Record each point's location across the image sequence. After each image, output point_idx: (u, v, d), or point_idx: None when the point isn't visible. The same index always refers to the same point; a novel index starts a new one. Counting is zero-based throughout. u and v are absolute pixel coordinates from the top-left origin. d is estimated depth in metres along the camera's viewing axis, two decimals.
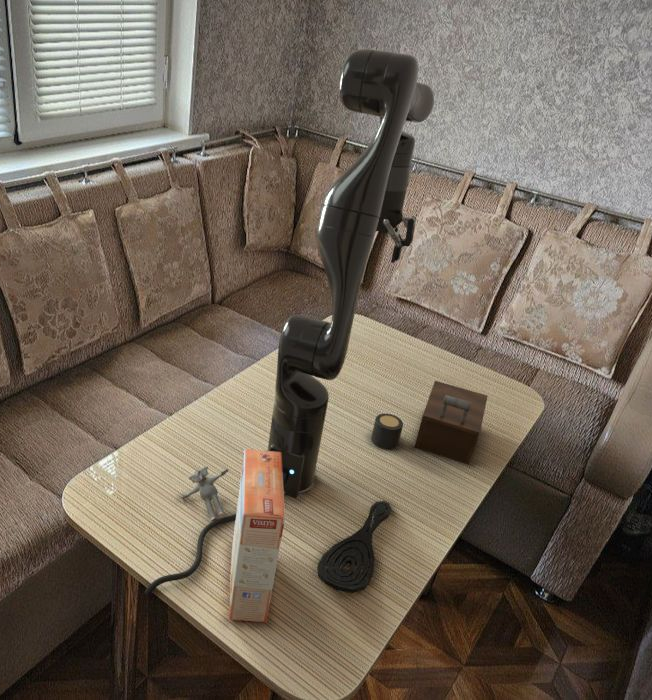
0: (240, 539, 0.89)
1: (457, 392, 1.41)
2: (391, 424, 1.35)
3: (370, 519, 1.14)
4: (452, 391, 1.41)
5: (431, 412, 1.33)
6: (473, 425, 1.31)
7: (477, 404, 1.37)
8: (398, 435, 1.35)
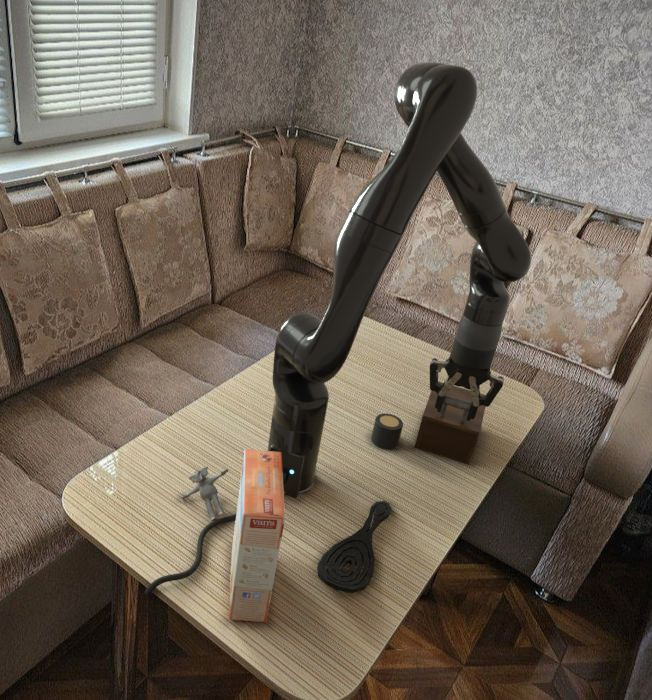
0: (240, 539, 0.89)
1: (457, 392, 1.41)
2: (391, 424, 1.35)
3: (370, 519, 1.14)
4: (452, 391, 1.41)
5: (431, 412, 1.33)
6: (473, 425, 1.31)
7: None
8: (398, 435, 1.35)
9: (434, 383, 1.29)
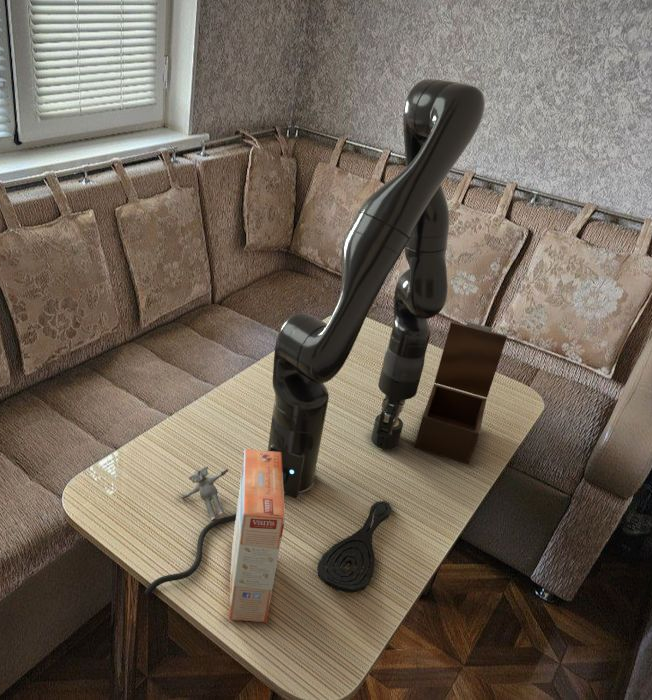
0: (240, 539, 0.89)
1: None
2: None
3: (370, 519, 1.14)
4: None
5: None
6: None
7: None
8: (398, 435, 1.35)
9: None
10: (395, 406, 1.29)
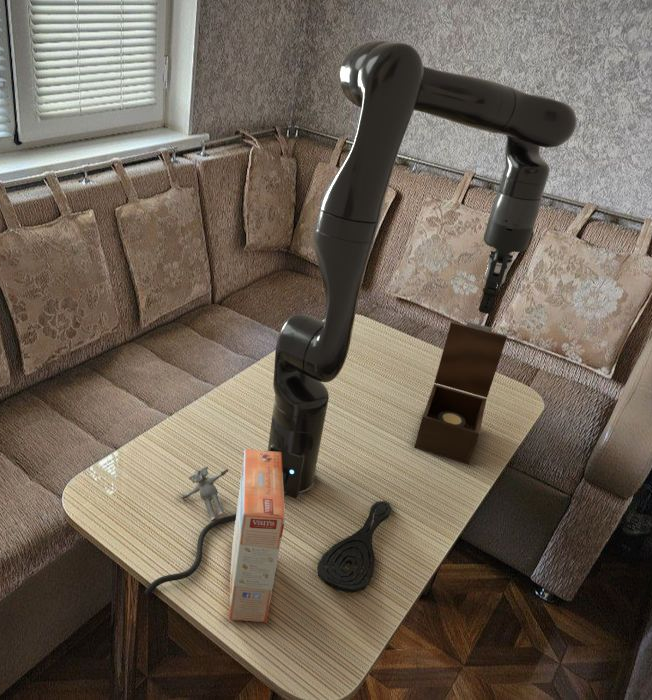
0: (240, 539, 0.89)
1: None
2: (454, 421, 1.36)
3: (370, 519, 1.14)
4: None
5: None
6: None
7: None
8: None
9: None
10: (505, 259, 1.15)
